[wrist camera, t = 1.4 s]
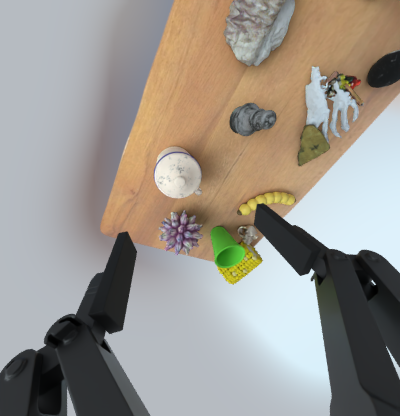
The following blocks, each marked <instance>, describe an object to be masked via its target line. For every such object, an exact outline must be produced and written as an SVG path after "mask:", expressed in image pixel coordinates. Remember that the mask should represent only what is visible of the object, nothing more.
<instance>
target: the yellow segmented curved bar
mask: <svg viewBox="0 0 400 416" xmlns="http://www.w3.org/2000/svg"><path fill="white" fill-rule="evenodd" d="M295 202H296V199H295V197H294V196H293V195H291V194H286V193H284V192H281V193H279V192H273V193H265V194H264V195H258V196H257V197H256V198H255V199H250V200H249V201H248V202H247V204H242V205H241V206H240V208H239V210H238V211H237V214H238V215H249V214H250V213H251V210H256V206H257V204H261V203H264V204H265V205H266V204H272V203H280V204H285V205H292V204H293V203H295Z"/></svg>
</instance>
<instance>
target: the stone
mask: <svg viewBox="0 0 400 416" xmlns="http://www.w3.org/2000/svg"><path fill="white" fill-rule="evenodd" d="M329 149H330V146H329V144H328V142H327V140H326V138H325V137H324V135H323V134H322V133H321V131H320V130H319V129H318V128H317V127H316V126H315V125H313V124H309V125H305V126H304V129H303V133H302V136H301V149H300V152H299V153H298V161H299V164H298V165H299V166H302V165H303V164H305V163H307V162H308V161H310V160H312V159H314V158H317V157H318V156H320V155H321V154H323V153H325V152H326V151H328V150H329Z"/></svg>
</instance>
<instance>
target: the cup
mask: <svg viewBox="0 0 400 416" xmlns="http://www.w3.org/2000/svg"><path fill="white" fill-rule="evenodd" d="M211 239H212V245H213V250H214V255H215V264H216V265H217V266H218V267H220V268H230V267H233V266H235V265H237V264H238V263H240V262H241V261H242V260H243V258H244V256H245V249H244V248H243V247H242V246H240V245H239V244H238V243H237V242H236V241H235V240H234V239H233V237H232V236H231V235H230V234H229V233H228V232H227V231H226V230H225V229H224V228H223V227H221V226H218V227H215V228H213V229H212V231H211Z"/></svg>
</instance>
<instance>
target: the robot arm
mask: <svg viewBox="0 0 400 416" xmlns="http://www.w3.org/2000/svg"><path fill="white" fill-rule="evenodd" d="M254 225H255V226H256V228H257V229H258V230H259V231H260V232H261V233H262V234H263V235H264V236H265V237H266V239H267V240H268V241H269V242H270V243H271V244H272V245H273V246H274V247H275V249H276V250H277V251H278V252H279V253H280V254H281V255H282V256H283V257H284V258H285V260H286V261H287V262H288V263H289V264H290V265H291V266H292V267H293V268H294V269H295V271H296V272H297V273H298V274H299V275H300V276H302V275H305V274H308V273H309V272H310V270H311V268H312V269H313V270H314V271H315V272H314V274H313V276H312V278H311V281H313V279H314V280H315V286H316V292H317V299H318V306H319V312H320V319H321V326H322V333H323V339H324V346H325V352H326V359H327V365H328V372H329V379H330V386H331V393H332V399H331V404H330V416H400V379H399V377H398V374H397V372H396V370H395V367H394V365H393V362H392V360H391V357H390V355H389V353H388V350H387V348H388V349H389V351H390V353H391V354H392V356H393V357H394V359H395V361H396V362H397V364H398V365H399V367H400V273H399V272H398V271H397V270H396V269H395V268H394V267H393V266H392V265H391V264H390V263H389V262H388V261H387V260H386V259H385V258H384V257H382V256H381V255H379V254H377V253H375V252H372V251H369V250H361V251H360V252H359V253H358V254H357V255H349V254H345V253H343V252H341V251H338V250H335V249H329V248H327V247H326V246H324V245H323V244H322V243H321V242H319V241H318V240H316V239H315V238H314V237H312V236H311V235H310V234H308V233H307V232H306V231H305V230H303V229H302V228H300V227H298V226H296V225H293V226H292V225H291V224H289V223H288V222H287V221H285V220H284V219H283V218H282V217H280V216H279V215H278V214H277V213H275V212H274V211H273V210H272V209H270V208H269V207H268V206H267V205H265V204H264V203H261V204H257V206H256V213H255V220H254ZM136 253H137V251H136V249H135V247H134V244H133V242H132V240H131V238H130V236H129V234H128V232H122V233H119V234H118V236H117V239H116V242H115V244H114V247H113V250H112V252H111V255H110V257H109V260H108V263H107V265H106V268H105V271H104V272H102V273H98V274H96V275H95V276H94V278H93V279H92V280H91V282H90V284H89V286H88V288H87V289H88V290H87V291H86V293H85V296H84V298H83V300H82V302H81V305H80V307H79V309H78V311H77V313H76V315H75V314H69V315H66V316H63V317H62V318H60V319H59V320H58V321H57V322H55V323H54V325H52V326H51V328H50V329H49V330H48V332H47V334H46V336H45V338H44V344H46V346H45V347H43V348H41V349H40V350H38V351H35V350H33V349H28V350H25V351H23V352H21V353H19V354H18V355H17V356H16V357H14V358H13V359H12V360H11V361H10V362H9V363H8V364H7V365H6V366H5V367H4V368H3V370H2V371H1V373H0V416H67V388H68V391H69V394H70V397H71V400H72V403H73V406H74V409H75V413H76V416H150V414H149V413H148V411H147V409H146V408H145V406H144V404H143V402H142V401H141V399H140V397H139V396H138V394H137V392H136V391H135V389H134V387H133V385H132V384H131V382H130V380H129V379H128V377H127V375H126V373H125V372H124V370H123V369H122V367H121V365H120V363H119V362H118V360H117V358H116V357H115V355H114V353H113V352H112V350H111V348H110V346H109V345H108V343H107V341H106V340H105V339H104V336H105V332H106V331H107V332H108V333H109V334H112V333H114V332H118V331H121V330H123V325H124V319H125V314H126V308H127V303H128V298H129V292H130V287H131V281H132V276H133V270H134V265H135V260H136ZM372 280H373V281H374V282H375V284H376V285H374V284H373V283H372V282H371V281H372ZM386 346H387V348H386Z"/></svg>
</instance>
